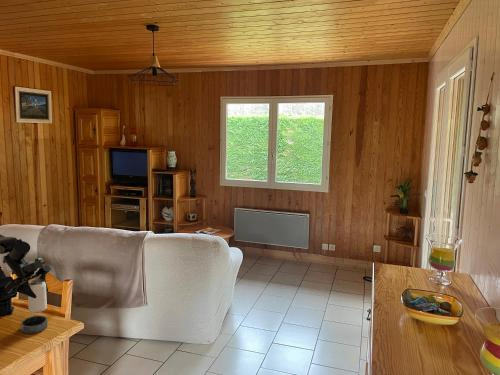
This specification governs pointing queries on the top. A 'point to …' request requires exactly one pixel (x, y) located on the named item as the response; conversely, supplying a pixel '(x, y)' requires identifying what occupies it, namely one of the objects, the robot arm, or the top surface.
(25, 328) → the collar
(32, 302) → the can
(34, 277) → the robot arm
